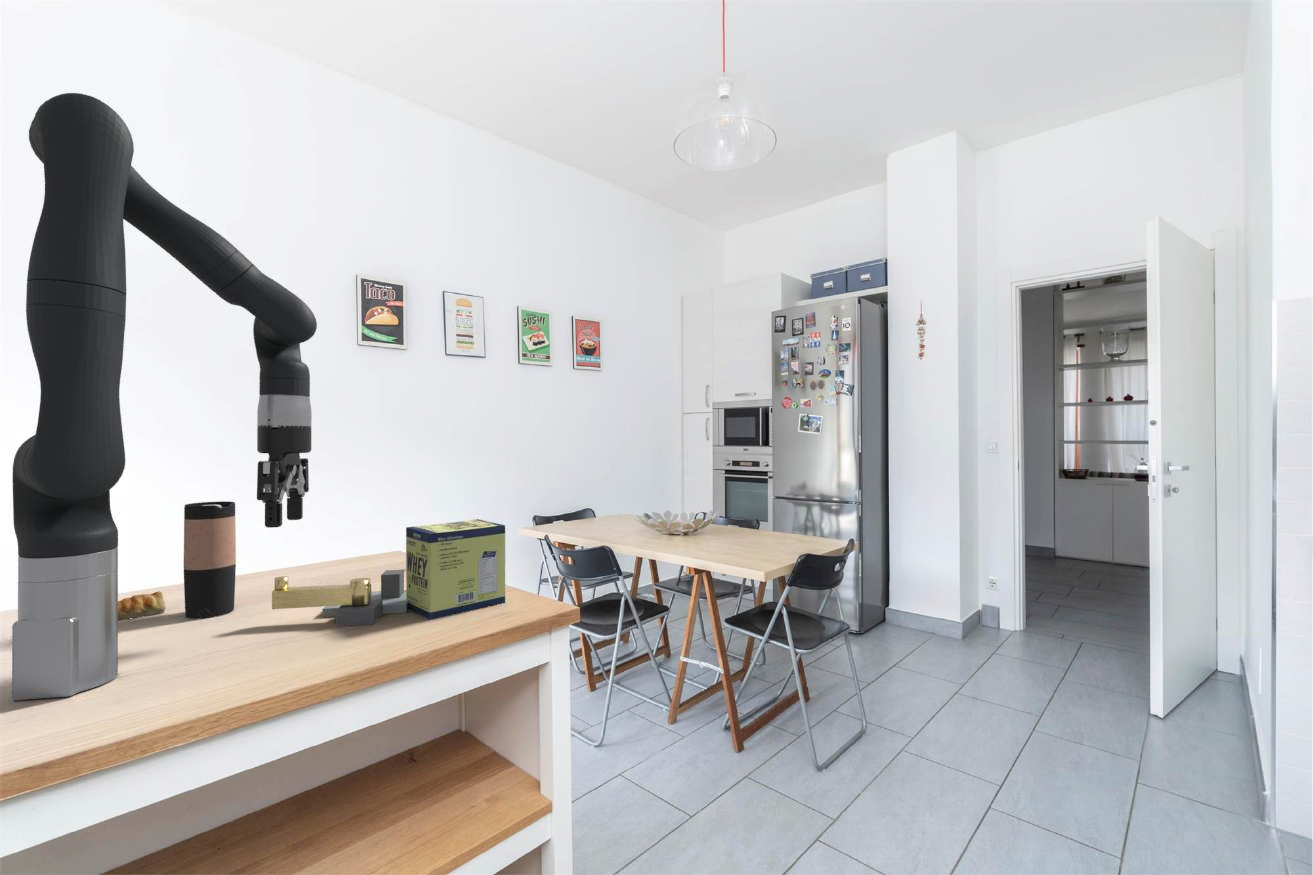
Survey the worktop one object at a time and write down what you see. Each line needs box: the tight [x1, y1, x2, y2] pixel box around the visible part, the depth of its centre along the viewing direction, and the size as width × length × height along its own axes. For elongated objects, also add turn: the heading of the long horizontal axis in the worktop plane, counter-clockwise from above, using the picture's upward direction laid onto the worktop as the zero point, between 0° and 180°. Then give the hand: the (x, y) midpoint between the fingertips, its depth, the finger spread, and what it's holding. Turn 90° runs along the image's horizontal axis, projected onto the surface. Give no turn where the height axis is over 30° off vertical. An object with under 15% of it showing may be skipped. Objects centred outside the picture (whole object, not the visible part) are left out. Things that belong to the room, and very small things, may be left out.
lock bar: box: [271, 575, 372, 610], centre depth 103 cm, size 15×3×5 cm, turn 102°
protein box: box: [405, 518, 506, 620], centre depth 113 cm, size 10×16×16 cm
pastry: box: [118, 590, 167, 621], centre depth 107 cm, size 9×7×4 cm
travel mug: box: [183, 500, 237, 620], centre depth 108 cm, size 8×8×20 cm
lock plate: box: [322, 569, 409, 627], centre depth 110 cm, size 17×14×6 cm
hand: (284, 523), depth 97 cm, fingers open, 8 cm apart
